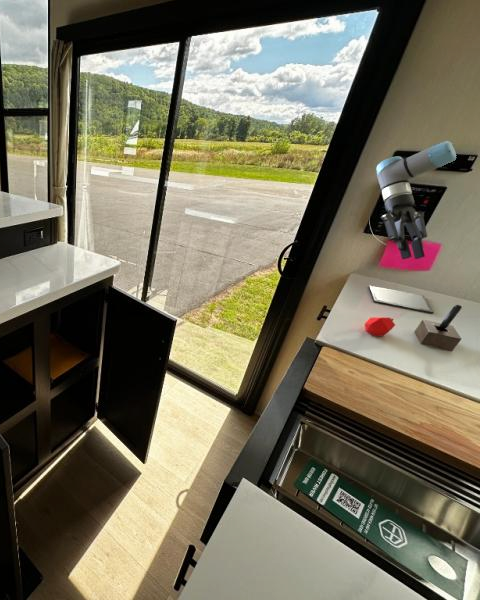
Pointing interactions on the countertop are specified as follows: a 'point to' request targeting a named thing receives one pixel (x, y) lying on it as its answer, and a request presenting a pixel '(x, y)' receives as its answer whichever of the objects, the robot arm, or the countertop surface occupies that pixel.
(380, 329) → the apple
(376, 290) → the tablet
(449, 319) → the stylus
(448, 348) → the block
